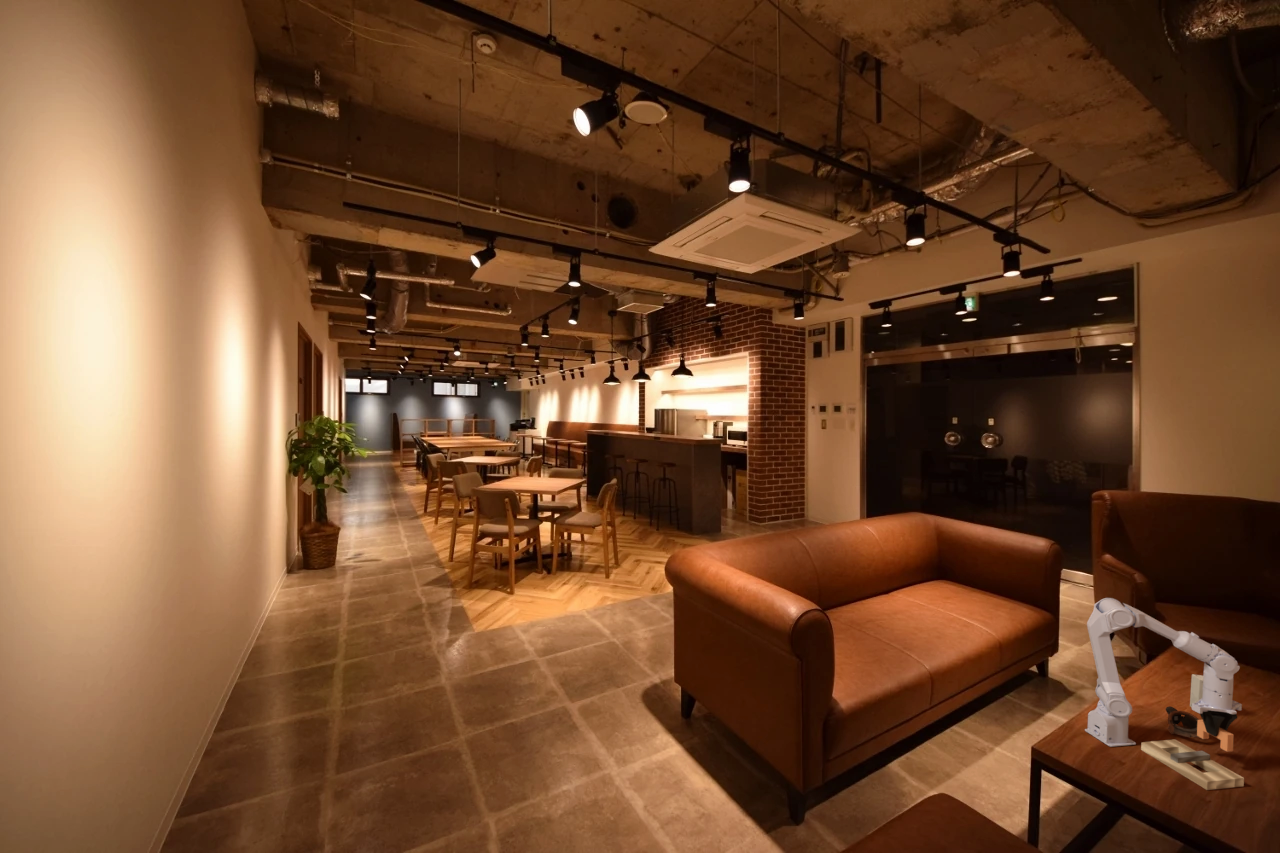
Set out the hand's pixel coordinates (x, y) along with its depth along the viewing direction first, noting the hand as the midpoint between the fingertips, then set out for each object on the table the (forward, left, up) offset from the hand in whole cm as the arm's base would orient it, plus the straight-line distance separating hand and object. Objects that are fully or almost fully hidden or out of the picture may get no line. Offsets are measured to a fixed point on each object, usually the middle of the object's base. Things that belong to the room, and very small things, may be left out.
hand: (1215, 733), depth 145 cm
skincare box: (+28, +21, -9) cm, 36 cm away
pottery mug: (+7, +12, -9) cm, 17 cm away
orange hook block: (0, 0, -3) cm, 3 cm away
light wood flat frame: (-10, -1, -9) cm, 13 cm away
